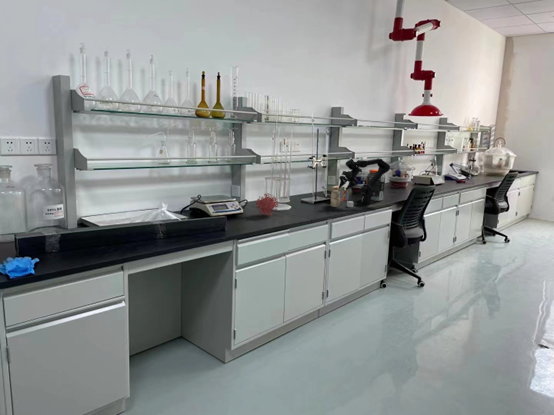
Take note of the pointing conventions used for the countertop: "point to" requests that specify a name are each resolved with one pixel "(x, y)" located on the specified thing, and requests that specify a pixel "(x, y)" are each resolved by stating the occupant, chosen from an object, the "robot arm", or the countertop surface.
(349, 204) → the grey cube
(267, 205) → the virus model
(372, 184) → the robot arm
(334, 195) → the beech block
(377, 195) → the supplement tub
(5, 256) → the countertop surface
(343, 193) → the stack of blocks
